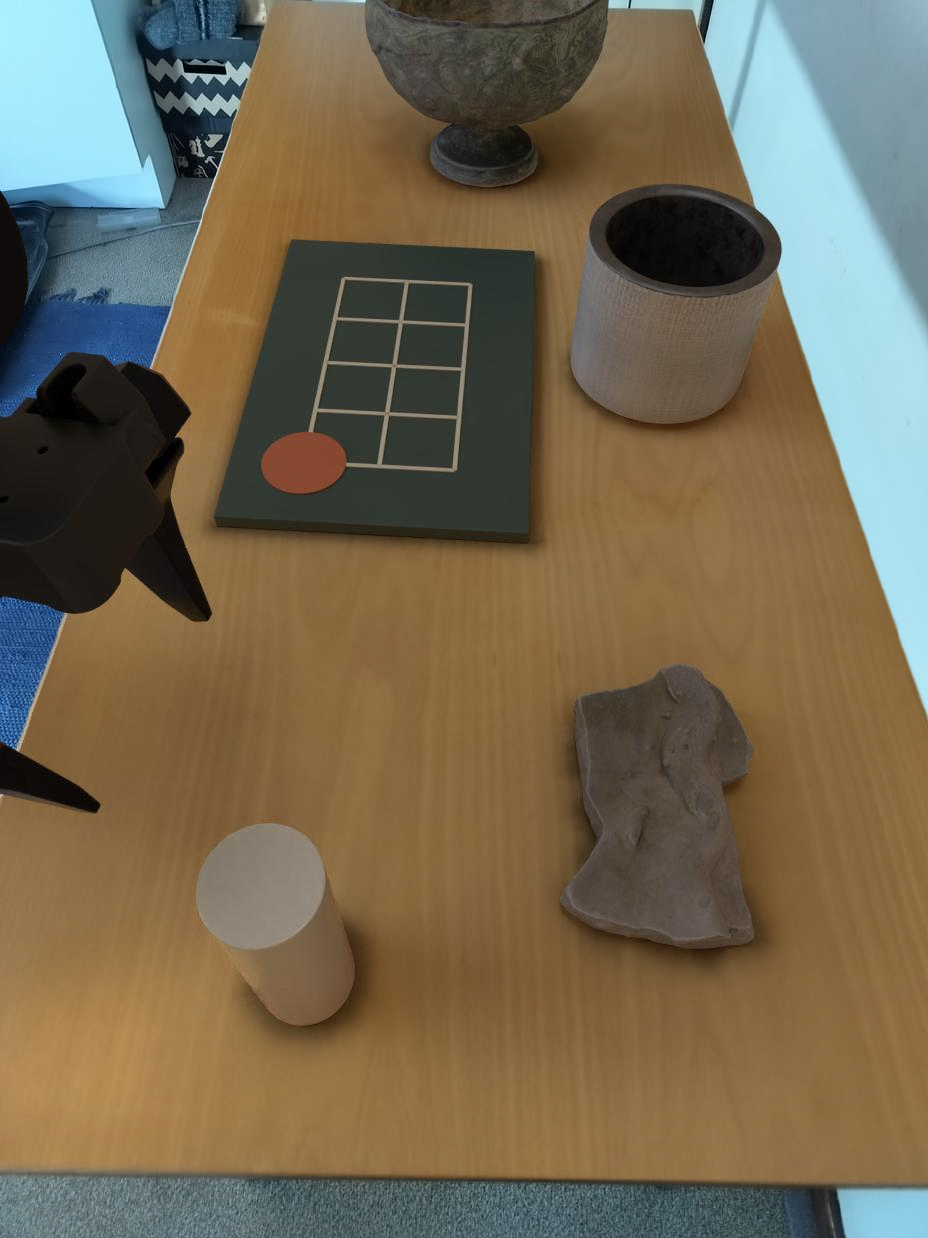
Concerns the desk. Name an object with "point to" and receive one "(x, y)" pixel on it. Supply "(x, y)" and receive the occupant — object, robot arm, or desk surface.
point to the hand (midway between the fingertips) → (151, 707)
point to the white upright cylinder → (278, 921)
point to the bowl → (486, 73)
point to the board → (390, 396)
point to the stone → (661, 812)
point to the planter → (671, 301)
